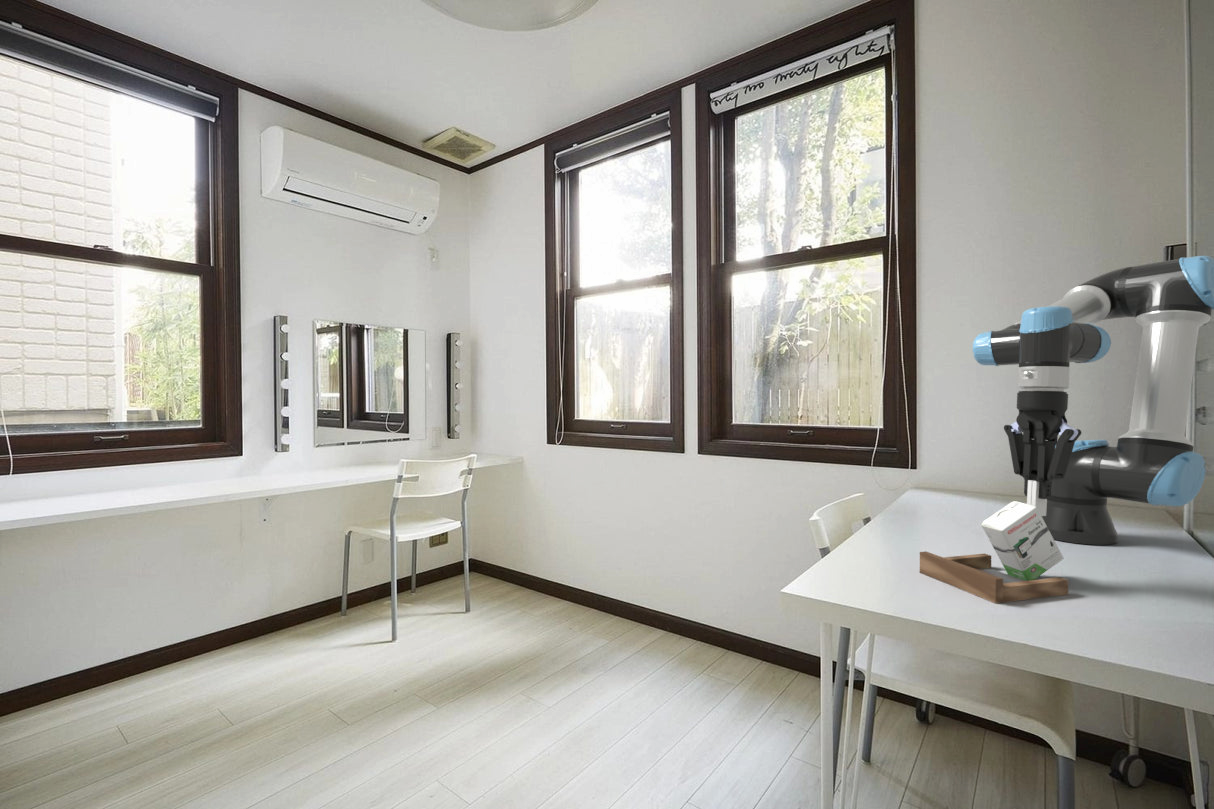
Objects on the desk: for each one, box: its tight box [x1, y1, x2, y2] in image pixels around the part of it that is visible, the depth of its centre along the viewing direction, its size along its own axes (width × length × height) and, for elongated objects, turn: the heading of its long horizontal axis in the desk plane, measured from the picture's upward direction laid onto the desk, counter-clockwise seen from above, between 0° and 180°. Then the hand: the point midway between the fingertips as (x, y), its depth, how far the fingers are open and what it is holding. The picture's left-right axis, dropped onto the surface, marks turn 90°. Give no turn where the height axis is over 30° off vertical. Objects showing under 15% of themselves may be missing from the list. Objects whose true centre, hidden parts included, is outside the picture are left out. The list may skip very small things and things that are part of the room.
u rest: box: [919, 551, 1069, 604], centre depth 100 cm, size 16×16×4 cm
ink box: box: [981, 500, 1064, 581], centre depth 102 cm, size 9×5×12 cm
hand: (1036, 514), depth 103 cm, fingers closed
